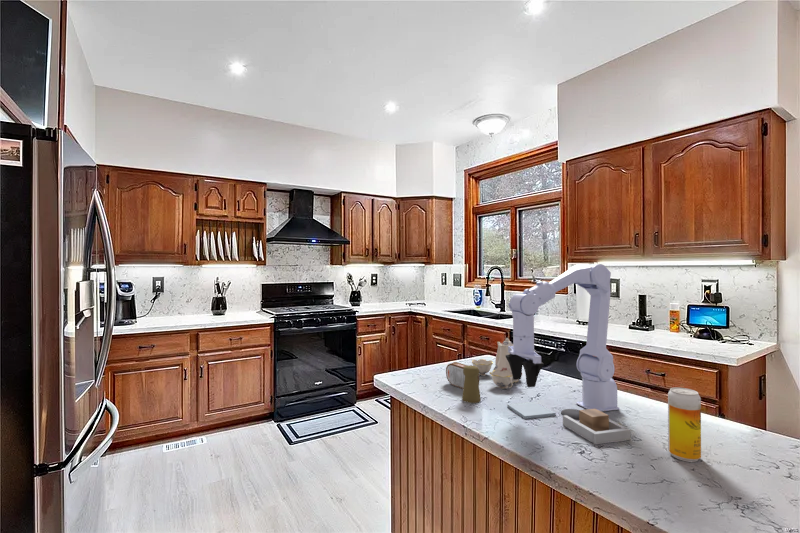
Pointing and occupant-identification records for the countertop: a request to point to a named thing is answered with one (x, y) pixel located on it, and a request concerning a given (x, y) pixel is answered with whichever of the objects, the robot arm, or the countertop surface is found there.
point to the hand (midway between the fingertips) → (523, 382)
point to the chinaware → (498, 366)
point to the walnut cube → (594, 419)
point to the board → (531, 410)
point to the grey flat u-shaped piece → (599, 437)
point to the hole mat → (571, 413)
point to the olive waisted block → (471, 385)
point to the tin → (456, 374)
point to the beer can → (684, 424)
